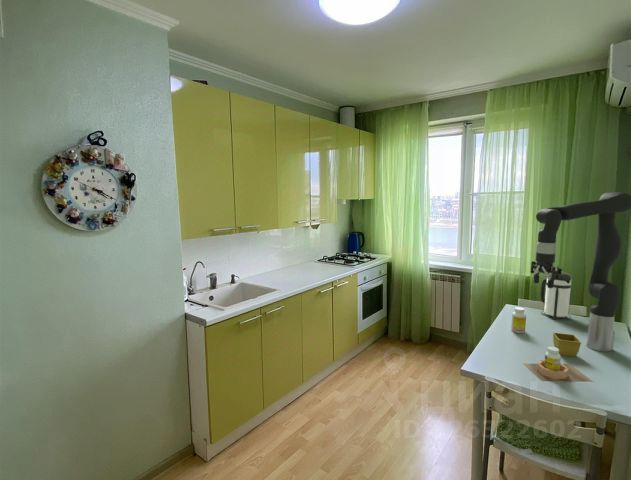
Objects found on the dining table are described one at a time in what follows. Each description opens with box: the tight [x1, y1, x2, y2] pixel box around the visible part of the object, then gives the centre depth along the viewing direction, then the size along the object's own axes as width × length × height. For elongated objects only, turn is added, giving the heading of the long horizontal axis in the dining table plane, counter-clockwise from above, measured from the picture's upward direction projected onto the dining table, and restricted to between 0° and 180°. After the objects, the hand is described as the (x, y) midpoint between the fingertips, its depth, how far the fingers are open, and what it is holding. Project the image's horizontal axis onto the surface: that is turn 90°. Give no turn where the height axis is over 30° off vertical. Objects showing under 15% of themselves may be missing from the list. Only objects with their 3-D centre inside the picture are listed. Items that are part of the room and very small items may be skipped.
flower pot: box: [552, 332, 582, 357], centre depth 162 cm, size 9×9×9 cm
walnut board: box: [523, 363, 594, 382], centre depth 146 cm, size 20×14×1 cm
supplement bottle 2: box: [544, 346, 562, 371], centre depth 145 cm, size 5×5×10 cm
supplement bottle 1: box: [510, 306, 527, 334], centre depth 190 cm, size 7×7×13 cm
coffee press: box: [540, 267, 573, 321], centre depth 210 cm, size 17×16×30 cm
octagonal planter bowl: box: [536, 359, 569, 379], centre depth 146 cm, size 10×10×3 cm
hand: (543, 285), depth 165 cm, fingers open, 8 cm apart
